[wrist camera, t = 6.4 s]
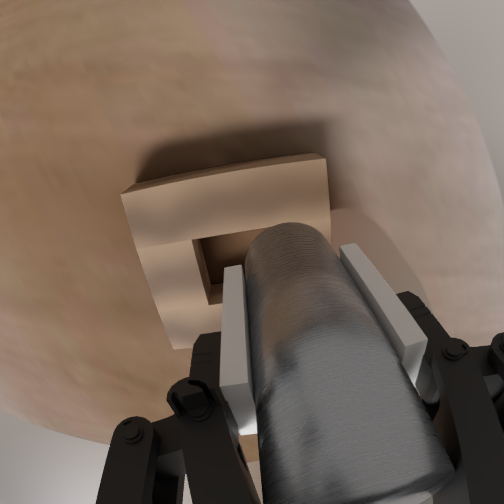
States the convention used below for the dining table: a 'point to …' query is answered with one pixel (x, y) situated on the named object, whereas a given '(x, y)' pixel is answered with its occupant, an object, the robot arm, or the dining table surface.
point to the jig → (215, 228)
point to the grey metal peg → (330, 384)
